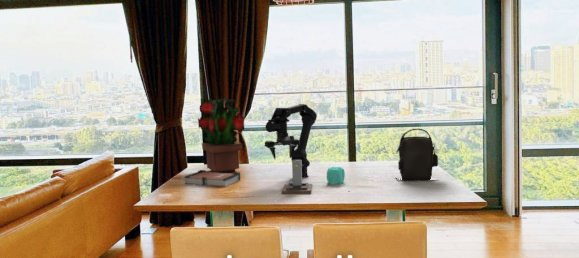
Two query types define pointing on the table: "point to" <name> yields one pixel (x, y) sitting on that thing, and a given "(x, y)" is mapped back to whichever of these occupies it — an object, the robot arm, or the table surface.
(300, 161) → the block
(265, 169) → the table surface
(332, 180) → the decorative dice
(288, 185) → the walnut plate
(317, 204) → the table surface
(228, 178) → the book
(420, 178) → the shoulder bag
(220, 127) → the potted plant
